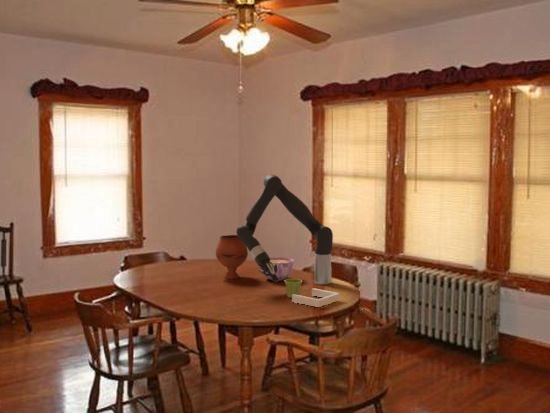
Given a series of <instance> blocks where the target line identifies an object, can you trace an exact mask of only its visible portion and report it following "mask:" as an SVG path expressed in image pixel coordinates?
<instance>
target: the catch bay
mask: <svg viewBox="0 0 550 413" xmlns="http://www.w3.org/2000/svg"><path fill="white" fill-rule="evenodd" d="M313 296H317V297H313ZM318 297H323V298H318ZM339 299H340V292H335V291H330V290H325V289H319V288H314V287H313V288H311V297H309V296H304V295H301V294H299V295H296V294H293V295H292V298H291V303H292V302H294V304H297V303H299V304H298V305H301V304H305V305H304V306H306V305H310V306H315V307H321V306H323V305H326V304H328V303H331V302H333V301H336V300H339ZM310 306H309V307H310ZM321 308H322V307H321Z"/></svg>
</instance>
